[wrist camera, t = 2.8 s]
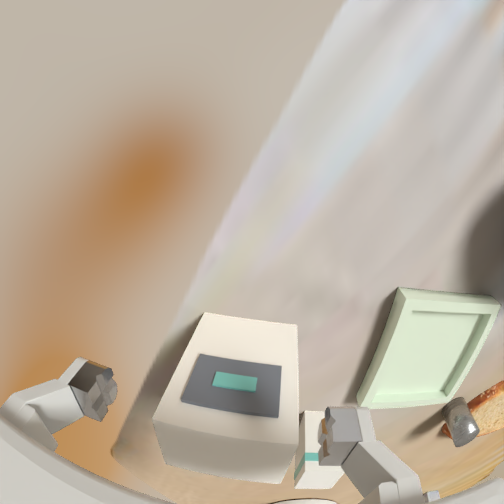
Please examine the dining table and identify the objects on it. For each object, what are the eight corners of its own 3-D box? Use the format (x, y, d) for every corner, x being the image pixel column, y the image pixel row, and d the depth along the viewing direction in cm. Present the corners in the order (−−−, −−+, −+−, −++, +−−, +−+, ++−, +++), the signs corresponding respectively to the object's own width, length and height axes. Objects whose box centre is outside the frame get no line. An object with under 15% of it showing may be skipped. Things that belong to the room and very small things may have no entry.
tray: (443, 391, 25) (449, 402, 23) (356, 395, 26) (359, 409, 24) (491, 295, 20) (501, 304, 19) (398, 287, 21) (406, 298, 19)
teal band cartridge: (327, 435, 29) (331, 488, 21) (295, 434, 29) (293, 488, 21) (339, 411, 27) (346, 470, 19) (304, 410, 27) (304, 470, 20)
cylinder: (456, 413, 26) (469, 443, 21) (437, 416, 26) (450, 449, 21) (468, 395, 25) (484, 426, 19) (449, 398, 25) (465, 432, 20)
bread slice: (434, 425, 28) (441, 444, 24) (528, 340, 22) (542, 355, 18) (465, 447, 30) (471, 461, 26) (538, 383, 24) (547, 395, 21)
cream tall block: (285, 378, 26) (278, 486, 14) (204, 367, 26) (166, 467, 15) (297, 320, 23) (300, 440, 12) (204, 307, 24) (150, 414, 13)
